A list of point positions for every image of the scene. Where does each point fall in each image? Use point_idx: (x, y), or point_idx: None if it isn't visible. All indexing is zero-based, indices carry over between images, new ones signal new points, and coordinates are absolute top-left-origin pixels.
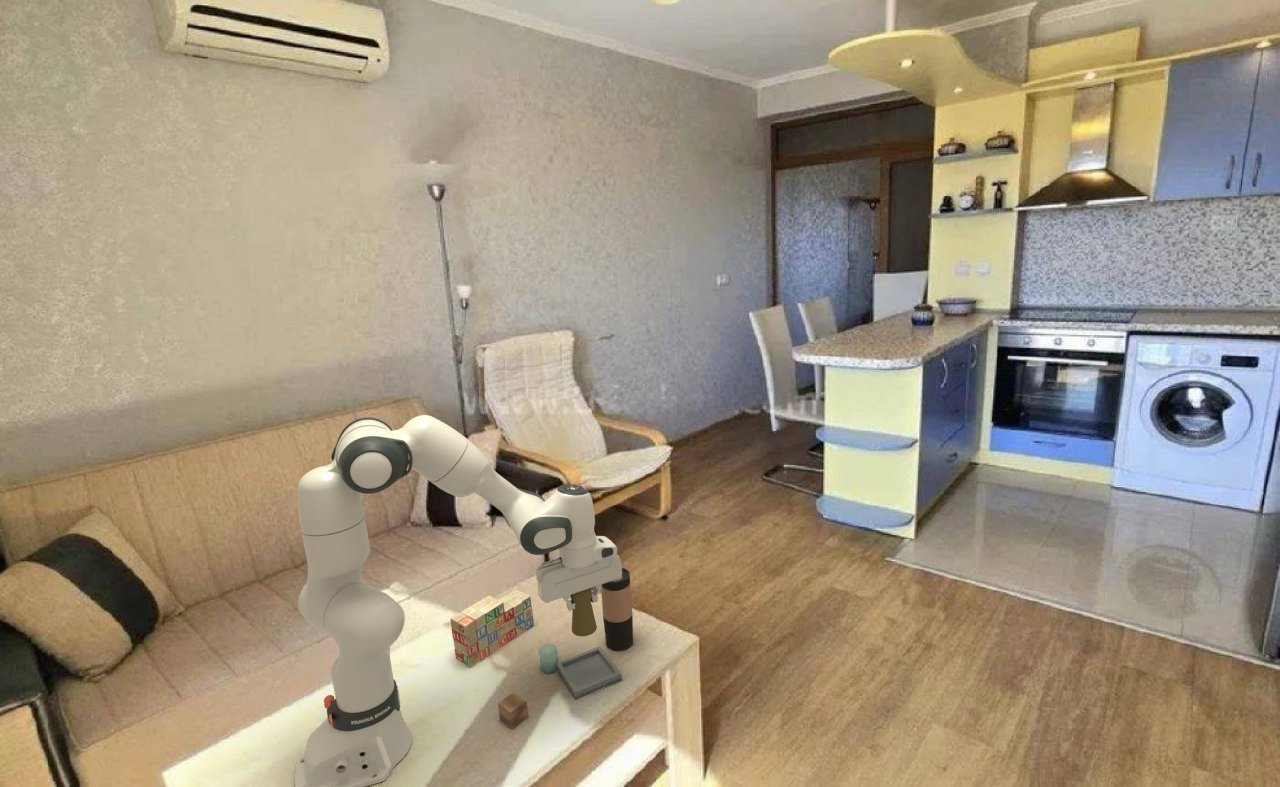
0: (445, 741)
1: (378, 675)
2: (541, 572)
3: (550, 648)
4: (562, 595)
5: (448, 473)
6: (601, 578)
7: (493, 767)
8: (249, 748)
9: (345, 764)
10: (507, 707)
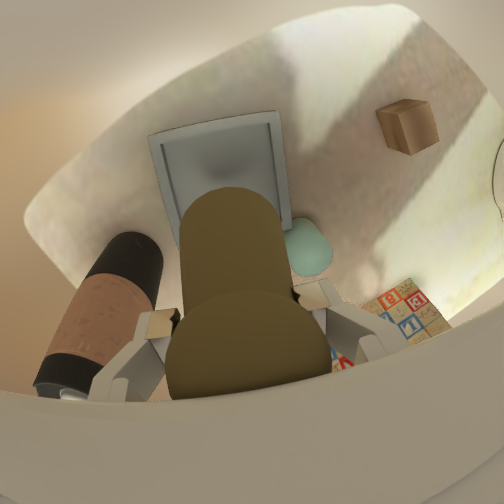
0: (473, 138)
1: None
2: None
3: (305, 259)
4: (455, 344)
5: None
6: (63, 447)
7: (435, 45)
8: None
9: None
10: (430, 118)
